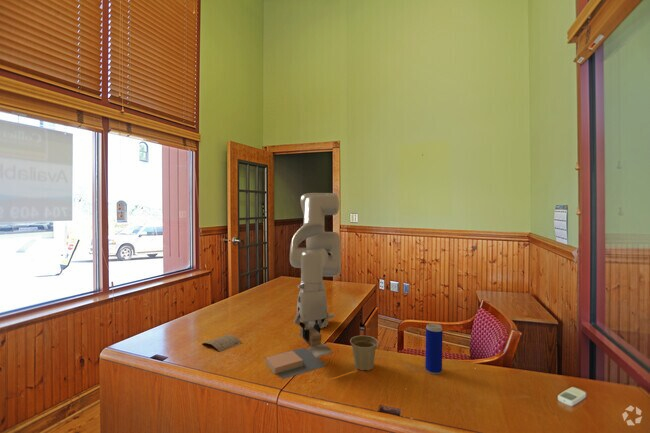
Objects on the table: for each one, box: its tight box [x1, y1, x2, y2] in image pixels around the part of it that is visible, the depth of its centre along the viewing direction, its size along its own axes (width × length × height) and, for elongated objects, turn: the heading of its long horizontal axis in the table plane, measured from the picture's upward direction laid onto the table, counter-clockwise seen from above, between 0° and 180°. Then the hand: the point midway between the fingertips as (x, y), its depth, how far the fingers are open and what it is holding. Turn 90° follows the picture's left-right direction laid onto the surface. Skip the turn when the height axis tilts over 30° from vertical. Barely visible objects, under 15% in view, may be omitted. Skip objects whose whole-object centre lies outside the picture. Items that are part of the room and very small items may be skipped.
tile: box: [265, 350, 303, 375], centre depth 105 cm, size 10×2×8 cm
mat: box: [264, 347, 327, 380], centre depth 108 cm, size 16×16×1 cm
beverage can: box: [424, 322, 444, 375], centre depth 103 cm, size 5×5×15 cm
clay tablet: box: [202, 333, 243, 353], centre depth 121 cm, size 14×10×3 cm
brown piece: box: [299, 324, 334, 358], centre depth 108 cm, size 14×6×4 cm, turn 31°
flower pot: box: [349, 335, 379, 371], centre depth 105 cm, size 9×9×9 cm
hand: (311, 338), depth 109 cm, fingers closed on brown piece, 3 cm apart
